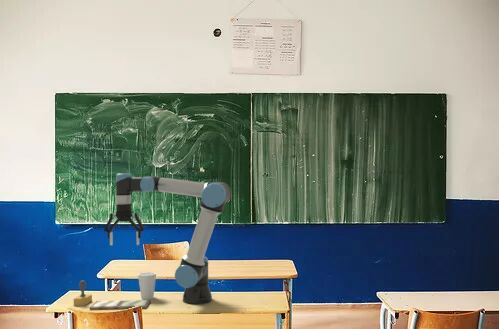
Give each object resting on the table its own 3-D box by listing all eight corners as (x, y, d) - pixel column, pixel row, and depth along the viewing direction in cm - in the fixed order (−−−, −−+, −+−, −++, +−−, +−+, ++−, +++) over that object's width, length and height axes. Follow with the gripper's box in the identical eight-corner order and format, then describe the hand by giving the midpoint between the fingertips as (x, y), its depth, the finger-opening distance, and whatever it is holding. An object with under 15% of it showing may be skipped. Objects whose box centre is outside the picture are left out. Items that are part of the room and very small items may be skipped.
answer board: (150, 302, 287) (150, 299, 287) (146, 308, 274) (146, 306, 274) (96, 302, 287) (96, 300, 287) (89, 309, 274) (89, 307, 274)
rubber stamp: (81, 300, 292) (81, 278, 292) (92, 301, 291) (91, 278, 291) (73, 305, 282) (73, 282, 282) (84, 306, 282) (83, 282, 282)
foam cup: (152, 300, 290) (151, 275, 290) (135, 299, 292) (135, 275, 292) (158, 296, 300) (158, 272, 300) (142, 295, 302) (142, 271, 301)
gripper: (149, 202, 287) (150, 243, 287) (101, 203, 287) (102, 244, 287) (146, 203, 279) (147, 245, 279) (97, 204, 279) (98, 246, 279)
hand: (124, 245), depth 283 cm, fingers open, 13 cm apart
